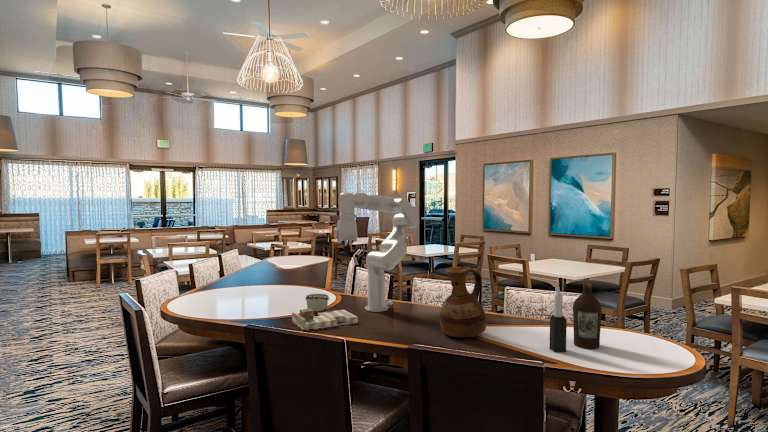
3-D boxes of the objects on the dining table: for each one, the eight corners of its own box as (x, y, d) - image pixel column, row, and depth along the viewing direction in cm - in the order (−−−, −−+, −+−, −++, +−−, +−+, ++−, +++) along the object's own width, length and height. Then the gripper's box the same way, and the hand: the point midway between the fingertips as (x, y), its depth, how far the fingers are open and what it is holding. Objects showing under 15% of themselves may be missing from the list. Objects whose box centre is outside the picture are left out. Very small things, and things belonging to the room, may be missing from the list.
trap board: (343, 315, 219) (343, 305, 219) (357, 322, 205) (357, 312, 205) (292, 322, 205) (292, 312, 205) (303, 331, 192) (303, 319, 192)
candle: (548, 348, 170) (549, 285, 169) (560, 347, 171) (561, 285, 170) (554, 352, 165) (555, 288, 164) (567, 352, 165) (568, 287, 165)
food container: (331, 312, 224) (331, 293, 224) (328, 315, 218) (328, 296, 218) (308, 312, 225) (308, 293, 225) (305, 315, 219) (305, 295, 219)
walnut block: (309, 316, 205) (309, 308, 204) (313, 319, 200) (313, 310, 200) (299, 318, 202) (299, 309, 202) (303, 320, 198) (303, 312, 198)
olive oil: (571, 340, 181) (572, 281, 180) (599, 343, 177) (600, 282, 176) (572, 347, 171) (573, 285, 170) (602, 351, 167) (603, 287, 166)
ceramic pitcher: (431, 331, 193) (432, 264, 192) (469, 326, 201) (469, 262, 200) (455, 344, 175) (456, 271, 174) (495, 338, 183) (496, 268, 182)
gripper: (356, 216, 223) (356, 251, 224) (330, 217, 216) (330, 253, 216) (363, 217, 217) (363, 253, 217) (336, 217, 209) (336, 255, 210)
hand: (347, 253), depth 217 cm, fingers closed
